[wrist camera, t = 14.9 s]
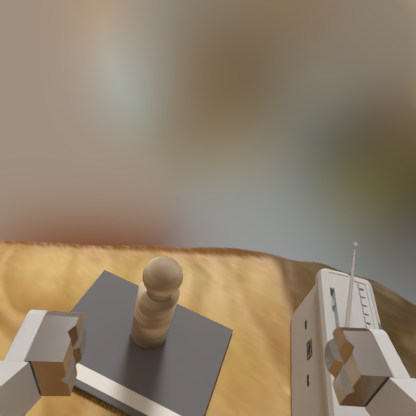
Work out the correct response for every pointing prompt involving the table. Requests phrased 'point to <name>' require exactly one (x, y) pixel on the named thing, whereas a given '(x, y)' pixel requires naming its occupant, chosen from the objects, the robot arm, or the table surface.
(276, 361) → the table surface
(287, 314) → the table surface
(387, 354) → the robot arm
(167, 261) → the skittle
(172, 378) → the mat
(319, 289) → the stereo radio cassette player
